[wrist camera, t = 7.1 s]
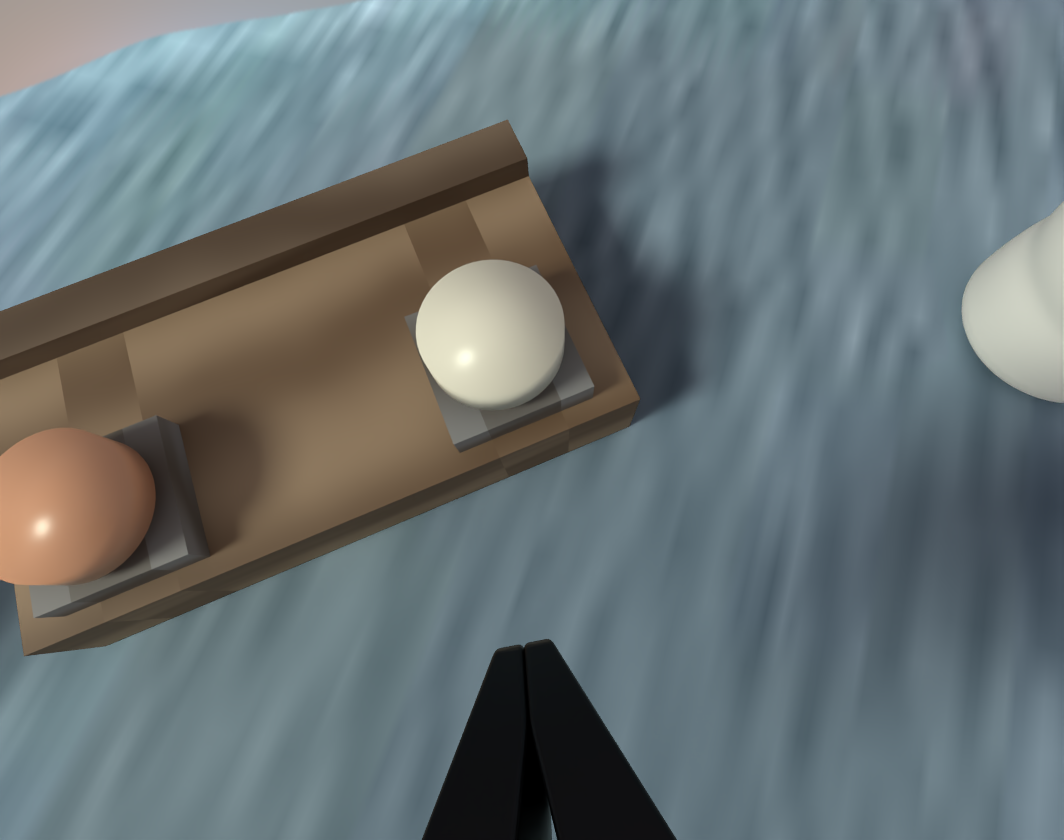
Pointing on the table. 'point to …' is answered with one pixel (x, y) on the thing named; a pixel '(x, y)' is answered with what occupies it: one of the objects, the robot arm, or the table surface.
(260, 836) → the table surface
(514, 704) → the robot arm
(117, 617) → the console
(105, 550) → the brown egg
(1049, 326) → the water bottle
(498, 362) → the button cream
